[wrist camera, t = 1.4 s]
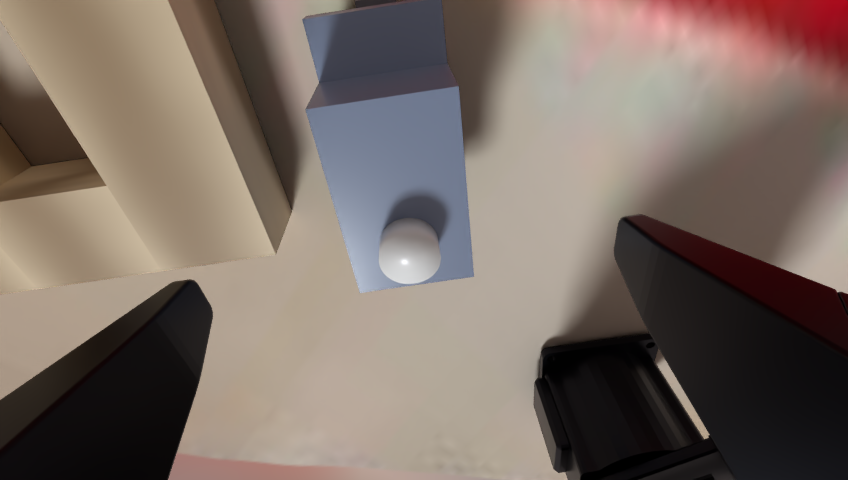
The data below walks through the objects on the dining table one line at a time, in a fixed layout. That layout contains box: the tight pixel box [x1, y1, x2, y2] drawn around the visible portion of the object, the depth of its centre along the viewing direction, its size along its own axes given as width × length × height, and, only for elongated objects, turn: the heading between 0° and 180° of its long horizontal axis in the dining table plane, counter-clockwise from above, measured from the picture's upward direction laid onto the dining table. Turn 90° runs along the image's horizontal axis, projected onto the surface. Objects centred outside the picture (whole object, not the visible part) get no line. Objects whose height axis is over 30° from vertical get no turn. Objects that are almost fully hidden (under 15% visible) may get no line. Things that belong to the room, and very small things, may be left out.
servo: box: [302, 0, 474, 293], centre depth 13 cm, size 3×8×7 cm, turn 7°
